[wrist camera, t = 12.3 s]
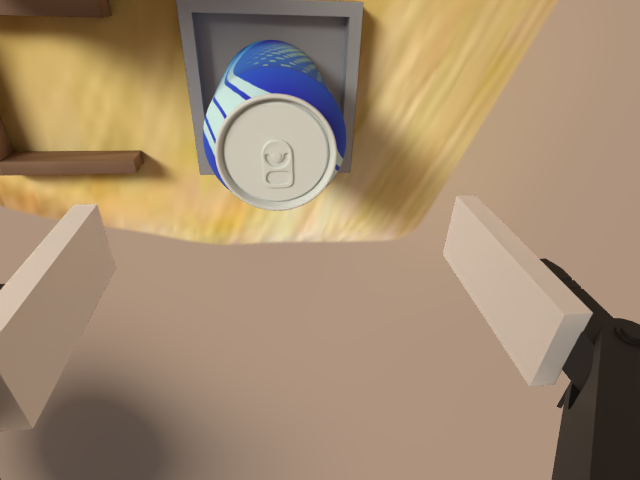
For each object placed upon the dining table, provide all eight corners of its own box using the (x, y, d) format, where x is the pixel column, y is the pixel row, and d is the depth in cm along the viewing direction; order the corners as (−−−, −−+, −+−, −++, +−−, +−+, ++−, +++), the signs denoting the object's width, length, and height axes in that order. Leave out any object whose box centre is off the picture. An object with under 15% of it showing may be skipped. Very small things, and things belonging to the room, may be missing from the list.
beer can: (204, 99, 35) (166, 172, 21) (261, 13, 32) (257, 35, 18) (282, 155, 38) (291, 248, 25) (340, 83, 35) (385, 143, 22)
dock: (-68, -9, 29) (-94, -8, 27) (107, -3, 31) (96, -2, 29) (3, 164, 36) (-13, 175, 34) (143, 162, 38) (136, 173, 36)
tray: (181, -5, 31) (175, -4, 29) (357, 1, 33) (363, 2, 31) (203, 165, 39) (200, 174, 37) (346, 163, 40) (350, 172, 38)
